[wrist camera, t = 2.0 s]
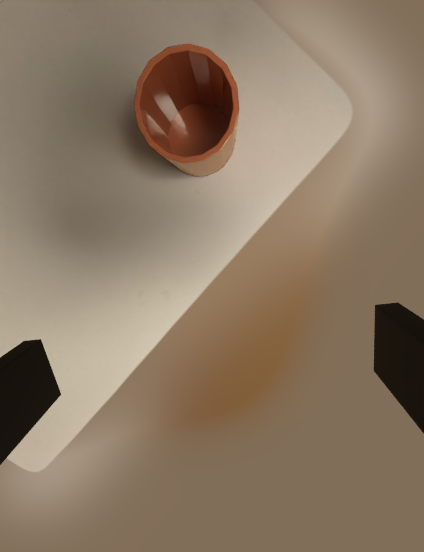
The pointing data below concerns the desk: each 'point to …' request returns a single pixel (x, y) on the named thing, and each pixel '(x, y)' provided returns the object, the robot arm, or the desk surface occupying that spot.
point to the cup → (188, 108)
